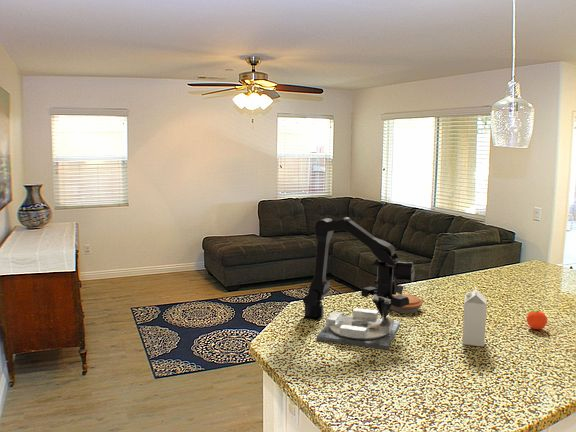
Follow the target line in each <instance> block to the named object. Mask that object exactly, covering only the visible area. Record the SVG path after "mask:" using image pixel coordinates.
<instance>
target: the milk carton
mask: <svg viewBox="0 0 576 432" xmlns="http://www.w3.org/2000/svg"><path fill="white" fill-rule="evenodd" d="M463 302H464V303H463V304H464V305H463V319H462V320H463V323H462V325H463V326H462V341H461V343H462V345H467V346H476V347H484V348H485V342H486V341H485V340H486V325H487V323H486V322H487V319H486V318H487V305H488V304H487V297H485V296H484V295H483V294H482V293H481V292H479V290H477V287H475V289H474V290H472V291H468V292H466V293H465V296H464V300H463Z"/></svg>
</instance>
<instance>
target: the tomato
mask: <svg viewBox="0 0 576 432" xmlns="http://www.w3.org/2000/svg"><path fill="white" fill-rule="evenodd" d="M525 314H526V313H524V315H525ZM526 323H527V325H528V326H529V327H530V328H531V329H534V330H541V329H544V328H545V327H546V325H547V323H548V318H547V315H546V314H545V313H544V312H543V311H541V310H537V309H530V310H528V314H527V315H526Z"/></svg>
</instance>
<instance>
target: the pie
mask: <svg viewBox="0 0 576 432" xmlns="http://www.w3.org/2000/svg"><path fill="white" fill-rule="evenodd" d="M398 295H401V294H399V293H396V294H395V295H392V296H398ZM402 296H406V297H408V298H409V305H406V306H403V307H395V306H391V307H390V309H389V310H391V311H393V312H395V313H399V314H414V313H417V312H418V311H419V310H420V308H421V306H422V305H423V304H424V301H423V299H421V298H419V297H418V296H415V295H414V294H413V295H412V294H407V293H405V294H404V293H402Z"/></svg>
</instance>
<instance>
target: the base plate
mask: <svg viewBox="0 0 576 432" xmlns="http://www.w3.org/2000/svg"><path fill="white" fill-rule="evenodd" d="M343 316H350V315H348V314H342V317H343ZM380 319H381V320H383V319H382V318H380ZM400 325H401V322H400V321H399V320H398V321H397V320H394V326H393V328H392V330H391V331H390V333H389V334H388V335H386V336H384V337H381V338H377V339H367V340H360V339H351V338H345V337H342V336H339V335H337V334H335V333H333V332H332V331H331V330H330V326H326V325H325V326H324V327H323V328H322V329H321V330H320V332H319V333H318V334H317V335H316V341H320V342H328V343H334V344H341V345H347V344H348V345H347V346H349V345H350V346H354V345H355V347H361V346H362V348H368V347H369V348H370V349H375V350H376V349H377V350H384V351H388V350H389V349H390V346H391V345H390V344H392V343H393V340H394V339H395V337H396V334H397V332H398V330H399V328H400ZM391 342H392V343H391Z"/></svg>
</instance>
